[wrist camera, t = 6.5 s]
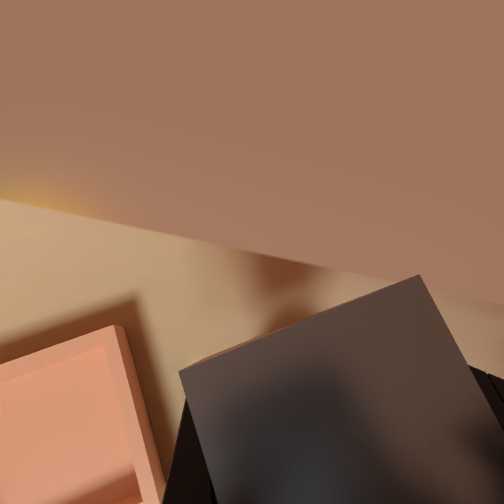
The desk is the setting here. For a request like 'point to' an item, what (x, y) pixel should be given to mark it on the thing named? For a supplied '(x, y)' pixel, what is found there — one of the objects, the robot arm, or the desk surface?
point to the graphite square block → (349, 410)
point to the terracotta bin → (77, 426)
